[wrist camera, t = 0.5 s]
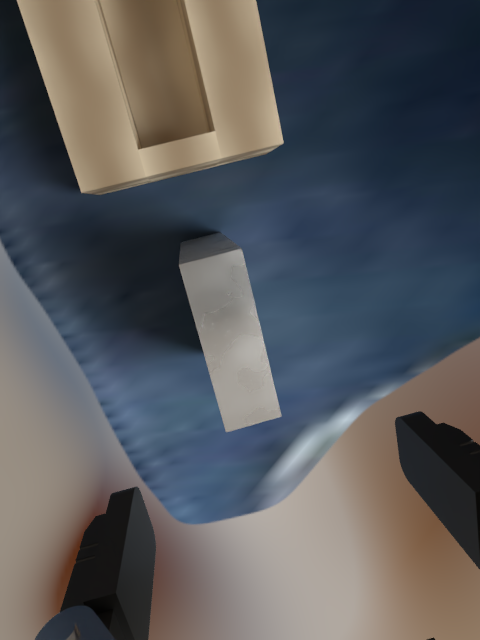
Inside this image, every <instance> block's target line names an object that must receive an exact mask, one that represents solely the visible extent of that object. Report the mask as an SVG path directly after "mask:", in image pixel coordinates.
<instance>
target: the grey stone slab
mask: <svg viewBox="0 0 480 640" xmlns="http://www.w3.org/2000/svg"><path fill="white" fill-rule="evenodd" d="M179 268H180V271H181V275H182V278H183V282H184V285H185V289H186V292H187V296H188V299H189V303H190V307H191V310H192V314H193V317H194V321H195V324H196V328H197V331H198V335H199V338H200V342H201V345H202V349H203V352H204V356H205V359H206V363H207V366H208V370H209V373H210V377H211V380H212V384H213V387H214V391H215V394H216V398H217V401H218V405H219V408H220V412H221V416H222V419H223V423H224V426H225V430H226V432H229V431H232V430H236V429H240V428H243V427H247V426H250V425H254V424H257V423H261V422H264V421H268V420H271V419H275V418H278V417H282V416H281V412H280V408H279V404H278V399H277V395H276V391H275V387H274V383H273V378H272V374H271V370H270V366H269V361H268V357H267V353H266V349H265V345H264V340H263V336H262V332H261V328H260V324H259V319H258V315H257V311H256V307H255V302H254V298H253V294H252V290H251V286H250V281H249V277H248V273H247V269H246V264H245V260H244V256H243V252H242V248H240V247H239V246H238V245H236V244H235V243H234V242H232V241H231V240H230V239H229V238H227V237H226V236H225V235H223V234H222V233H221V232H220V233H216V234H212V235H208V236H204V237H200V238H196V239H192V240H188V241H184V242H181V246H180V256H179Z"/></svg>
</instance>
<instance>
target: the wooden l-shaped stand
mask: <svg viewBox="0 0 480 640" xmlns="http://www.w3.org/2000/svg"><path fill="white" fill-rule="evenodd" d="M17 2H18V5H19V8H20V11H21V14H22V17H23V20H24V23H25V26H26V29H27V32H28V35H29V38H30V41H31V44H32V47H33V50H34V53H35V56H36V59H37V62H38V65H39V68H40V71H41V74H42V77H43V80H44V83H45V86H46V89H47V92H48V95H49V98H50V101H51V104H52V107H53V110H54V113H55V116H56V118H57V121H58V124H59V127H60V130H61V133H62V136H63V139H64V142H65V145H66V148H67V151H68V154H69V157H70V160H71V163H72V166H73V169H74V172H75V175H76V178H77V181H78V184H79V187H80V190H81V193H87V194H96V195H102V194H106V193H110V192H114V191H118V190H122V189H126V188H130V187H134V186H138V185H143V184H147V183H151V182H155V181H159V180H163V179H167V178H171V177H175V176H179V175H183V174H187V173H191V172H195V171H199V170H203V169H207V168H211V167H216V166H220V165H224V164H228V163H232V162H236V161H240V160H244V159H248V158H252V157H256V156H260V155H264V154H267V153H269V152H270V151H272V150H273V149H275V148H277V147H278V146H280V145H281V144H283V143H284V142H283V137H282V132H281V127H280V122H279V117H278V111H277V106H276V101H275V96H274V91H273V86H272V80H271V75H270V70H269V65H268V60H267V55H266V49H265V44H264V39H263V34H262V29H261V24H260V18H259V13H258V8H257V3H256V0H17Z"/></svg>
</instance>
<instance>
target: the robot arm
mask: <svg viewBox="0 0 480 640" xmlns="http://www.w3.org/2000/svg"><path fill="white" fill-rule="evenodd" d="M395 427H396V434H397V442H398V450H399V459H400V463H401V467H402V470H403V472H404V474H405V476H406V478H407V480H408V481H409V482H410V484H411V485H412V486H413V487H414V488H415V490H416V491H417V492H418V494H419V495H420V496H421V497H422V499H423V500H424V501H425V502H426V503H427V505H428V506H429V507H430V508H431V510H432V511H433V512H434V514H435V515H436V516H437V517H438V518H439V520H440V521H441V522H442V523H443V525H444V526H445V527H446V528H447V530H448V531H449V532H450V533H451V535H452V536H453V537H454V538H455V539H456V541H457V542H458V543H459V545H460V546H461V547H462V548H463V549H464V551H465V552H466V553H467V554H468V556H469V557H470V558H471V559H472V561H473V562H474V563H475V564H476V566H477V567H478V568H479V569H480V445H479V444H477V443H476V442H473V440H472V439H471V438H470V437H469V436H468V435H466V434H465V433H464V432H463V431H461V430H460V429H457V428H455V427H452V426H450V425H447V424H445V423H441V424H435V423H434V422H433V421H432V420H431V419H430V418H429V417H427V416H426V415H425V414H424V413H423V412H416V413H412V414H408V415H405V416H401V417H397V418H396V420H395ZM155 553H156V542H155V535H154V530H153V527H152V524H151V521H150V518H149V515H148V512H147V509H146V507H145V503H144V500H143V498H142V495H141V492H140V490H139V488H138V487H134V488H130V489H126V490H122V491H119V492H115V493H112V494H111V496H110V500H109V504H108V507H107V511H106V514H102V515H99V516H96V517H95V518H94V520H93V521H92V522H91V524H90V525H89V526H88V528H87V529H86V530H85V532H84V536H83V539H82V542H81V545H80V550H79V552H78V555H77V558H76V564H75V565H74V568H73V571H72V574H71V578H70V581H69V584H68V587H67V591H66V594H65V597H64V601H63V604H62V607H61V610H60V613H58V614H57V615H55V616H54V617H53V618H52V619H51V620H49V621H48V622H47V623H46V624H45V626H44V627H43V628H42V629H41V630H40V632H39V633H38V635H37V636H36V638H35V640H148V635H149V625H150V613H151V601H152V589H153V577H154V565H155ZM428 640H435V639H434V638H431V639H428Z"/></svg>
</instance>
